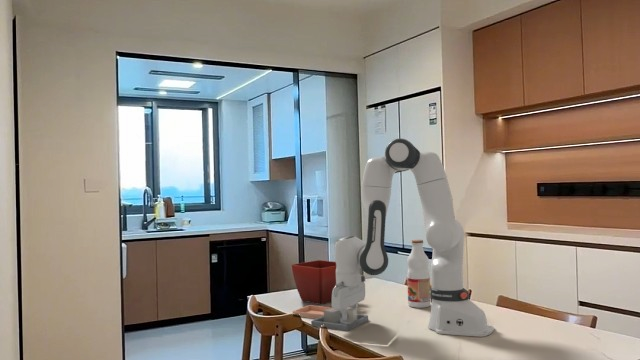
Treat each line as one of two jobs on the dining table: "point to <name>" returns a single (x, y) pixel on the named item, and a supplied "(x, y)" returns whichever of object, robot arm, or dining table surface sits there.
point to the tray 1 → (311, 311)
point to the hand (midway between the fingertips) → (349, 317)
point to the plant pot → (315, 280)
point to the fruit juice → (418, 277)
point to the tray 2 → (340, 323)
